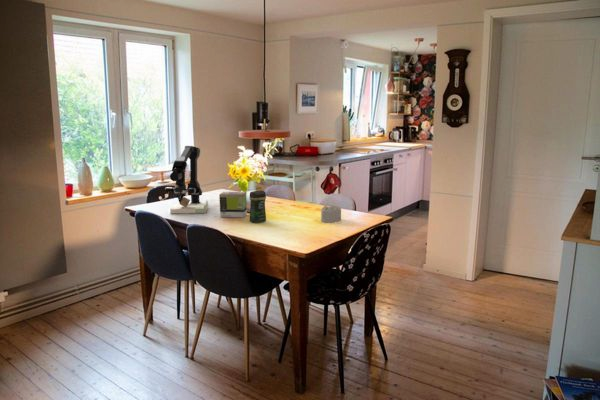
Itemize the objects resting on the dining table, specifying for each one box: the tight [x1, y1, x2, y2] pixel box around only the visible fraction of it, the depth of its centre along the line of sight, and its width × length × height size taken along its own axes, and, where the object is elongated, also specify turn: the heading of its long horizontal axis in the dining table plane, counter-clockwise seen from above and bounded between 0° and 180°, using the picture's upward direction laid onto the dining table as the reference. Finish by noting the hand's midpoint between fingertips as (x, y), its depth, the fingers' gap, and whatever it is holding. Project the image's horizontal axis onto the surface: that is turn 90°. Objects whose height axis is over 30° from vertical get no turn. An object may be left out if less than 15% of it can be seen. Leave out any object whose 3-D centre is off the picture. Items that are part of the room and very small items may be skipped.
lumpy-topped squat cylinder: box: [320, 205, 342, 224], centre depth 282 cm, size 10×13×9 cm
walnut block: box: [179, 196, 191, 207], centre depth 306 cm, size 4×4×4 cm
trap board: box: [169, 200, 209, 215], centre depth 307 cm, size 16×22×5 cm
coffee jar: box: [248, 189, 267, 224], centre depth 279 cm, size 10×8×19 cm
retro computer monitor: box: [218, 191, 248, 218], centre depth 293 cm, size 15×10×15 cm
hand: (180, 203), depth 306 cm, fingers closed, pressing on walnut block
